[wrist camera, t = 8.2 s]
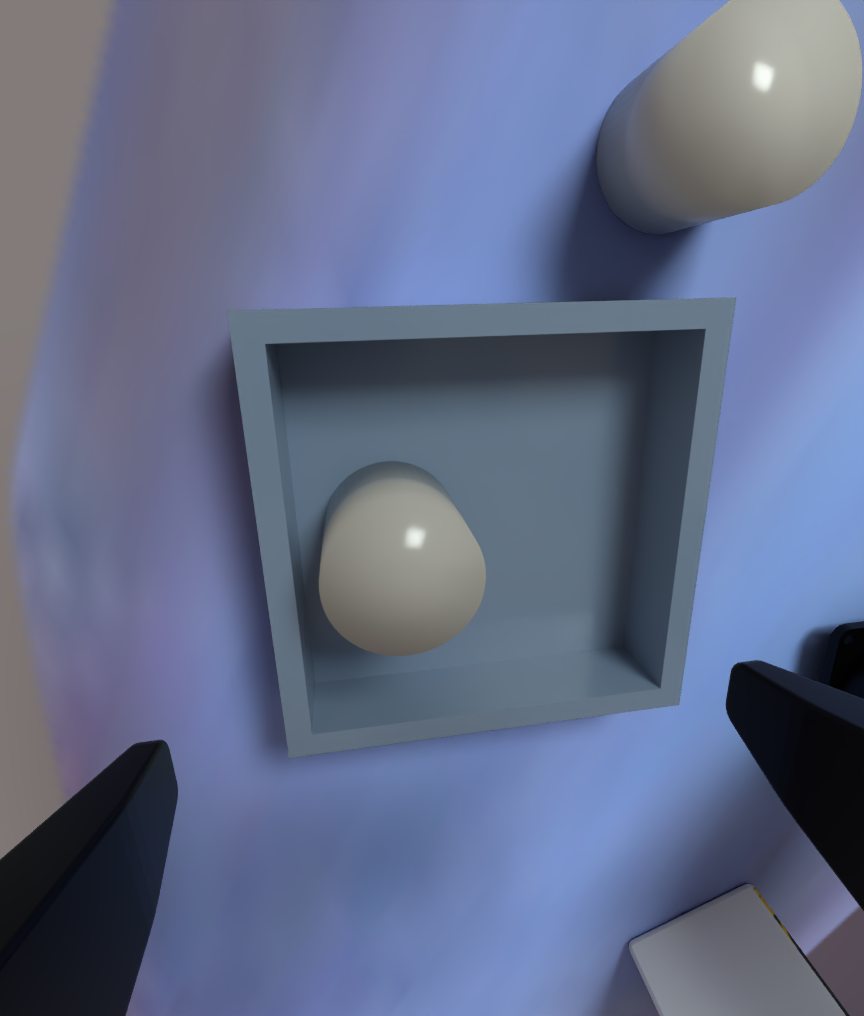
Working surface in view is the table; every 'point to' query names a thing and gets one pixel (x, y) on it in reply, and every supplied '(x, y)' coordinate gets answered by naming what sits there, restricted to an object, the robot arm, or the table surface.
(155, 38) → the table surface
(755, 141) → the pebble
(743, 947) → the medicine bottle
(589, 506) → the dish
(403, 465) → the pebble
